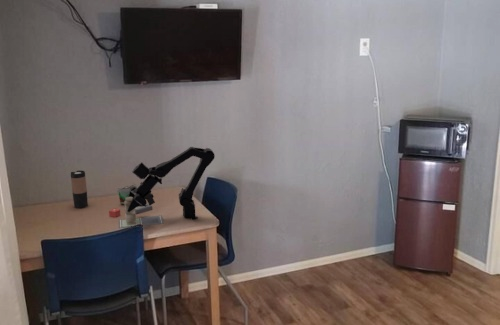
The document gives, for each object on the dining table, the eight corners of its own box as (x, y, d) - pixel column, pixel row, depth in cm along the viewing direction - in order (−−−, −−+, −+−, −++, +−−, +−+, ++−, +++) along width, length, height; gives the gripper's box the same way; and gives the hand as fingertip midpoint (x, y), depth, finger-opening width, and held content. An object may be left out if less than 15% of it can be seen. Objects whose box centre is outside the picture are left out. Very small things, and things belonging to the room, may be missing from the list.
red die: (120, 216, 250) (119, 208, 249) (115, 219, 246) (114, 211, 245) (114, 215, 251) (113, 207, 250) (109, 218, 248) (108, 210, 247)
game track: (161, 217, 248) (161, 215, 248) (164, 225, 237) (163, 223, 237) (118, 221, 243) (118, 219, 242) (118, 230, 232) (118, 227, 231)
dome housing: (152, 211, 258) (152, 205, 257) (135, 215, 251) (135, 210, 250) (141, 206, 265) (141, 201, 264) (125, 211, 258) (125, 206, 257)
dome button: (147, 210, 258) (146, 199, 256) (137, 213, 253) (136, 202, 252) (140, 207, 262) (139, 197, 260) (130, 210, 258) (129, 199, 256)
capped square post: (134, 220, 241) (133, 196, 238) (136, 223, 237) (134, 198, 234) (125, 221, 240) (124, 197, 237) (126, 224, 236) (125, 199, 232)
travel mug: (85, 208, 263) (82, 174, 258) (71, 208, 263) (68, 174, 258) (90, 204, 270) (86, 170, 265) (77, 204, 270) (73, 170, 265)
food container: (125, 207, 264) (123, 190, 262) (118, 205, 268) (116, 188, 265) (142, 201, 274) (141, 185, 271) (135, 199, 277) (134, 183, 275)
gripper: (163, 199, 232) (141, 224, 231) (156, 189, 249) (136, 211, 248) (145, 186, 227) (124, 210, 226) (140, 176, 244) (120, 199, 243)
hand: (127, 208), depth 236 cm, fingers open, 9 cm apart
